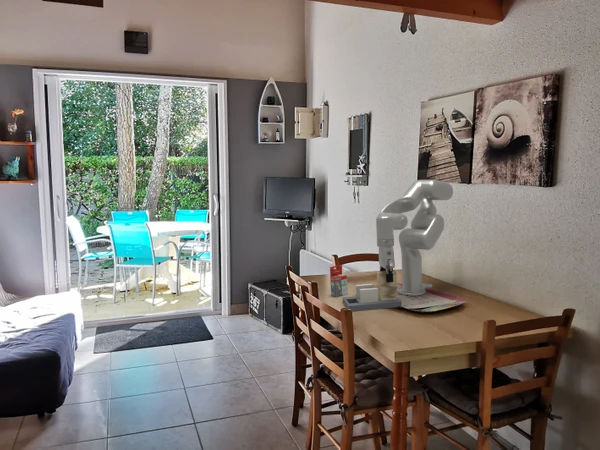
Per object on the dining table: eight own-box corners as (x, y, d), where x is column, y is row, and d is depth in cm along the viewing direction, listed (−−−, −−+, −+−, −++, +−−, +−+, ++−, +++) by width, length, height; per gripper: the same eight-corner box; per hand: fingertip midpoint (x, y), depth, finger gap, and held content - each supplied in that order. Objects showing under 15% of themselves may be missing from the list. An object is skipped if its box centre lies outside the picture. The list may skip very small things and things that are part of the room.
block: (394, 295, 222) (393, 270, 220) (397, 297, 218) (396, 272, 216) (377, 296, 221) (376, 271, 219) (379, 299, 217) (379, 273, 215)
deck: (392, 298, 227) (392, 292, 227) (401, 306, 213) (401, 300, 213) (342, 302, 224) (342, 296, 224) (349, 311, 211) (348, 305, 210)
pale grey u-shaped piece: (372, 296, 223) (372, 283, 222) (378, 301, 214) (377, 288, 213) (356, 297, 222) (355, 285, 222) (360, 303, 213) (360, 290, 212)
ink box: (348, 294, 238) (346, 265, 236) (335, 297, 234) (333, 268, 232) (343, 292, 241) (342, 264, 239) (330, 295, 237) (329, 267, 235)
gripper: (399, 245, 208) (400, 283, 210) (387, 239, 225) (389, 274, 227) (382, 246, 207) (384, 285, 209) (372, 240, 224) (373, 275, 226)
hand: (386, 279), depth 218 cm, fingers open, 9 cm apart
